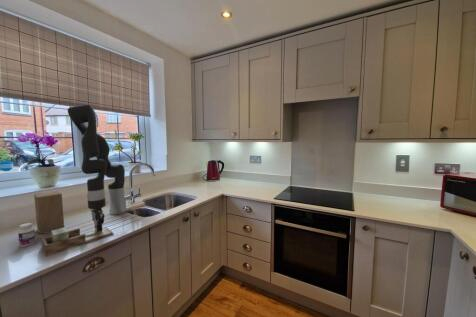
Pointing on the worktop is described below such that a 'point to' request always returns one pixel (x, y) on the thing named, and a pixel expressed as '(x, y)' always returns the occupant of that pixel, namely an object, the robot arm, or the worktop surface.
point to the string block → (63, 233)
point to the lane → (72, 240)
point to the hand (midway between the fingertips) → (98, 230)
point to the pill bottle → (26, 235)
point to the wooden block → (49, 211)
